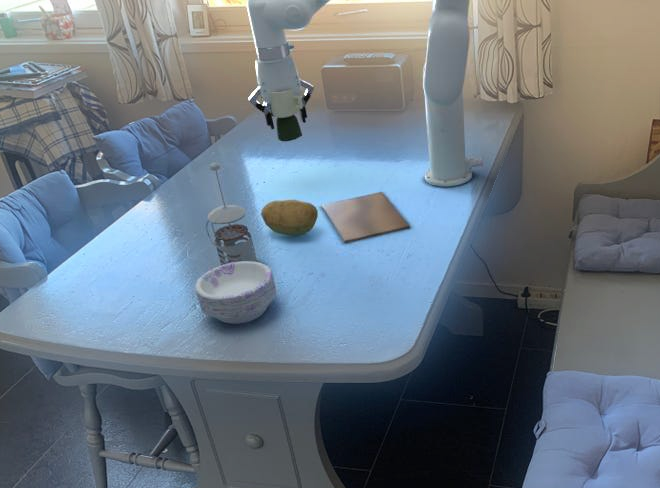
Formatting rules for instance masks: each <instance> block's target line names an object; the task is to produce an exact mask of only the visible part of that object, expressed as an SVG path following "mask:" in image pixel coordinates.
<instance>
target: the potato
mask: <svg viewBox="0 0 660 488" xmlns="http://www.w3.org/2000/svg"><path fill="white" fill-rule="evenodd" d="M260 216H261V217H262V219H263V222H264V224H265V226H266V227H268V228H269V229H270V230H271V231H272V232H274V233H275V234H279V235H283V236H301V235H306V234H307V233H309V232H310V231H311V230H312V229H313V228H314V227H315V225H316V222H317V219H318V217H319V211H318V209H317V207H316V206H315V205H314V204H312V203H311V202H307V201H301V200H297V199H283V200H273V201H270V202H268V203H266V204H265V205H264V207H262V209H261V212H260Z"/></svg>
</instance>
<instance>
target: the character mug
mask: <svg viewBox="0 0 660 488" xmlns="http://www.w3.org/2000/svg"><path fill="white" fill-rule="evenodd" d="M271 96H272V103H270V104H271V107H270V110H269V111H270V113H271V115H272V118H276V120H275V123H276V124H275V125H276V133H277V134H276V135H277V136H276V137H277V139H278V141H280V142H291V141H295V140H297V139H299V138H300V137H302V136H303V133H302V129H301V126H300V124H299V120H298V118H297V116H296V114H297V113H299V109H303V103H302V95H301V96H294V92H293V89H289V90H286V91H282V92H274V93H273V92H272V93H271ZM298 104H299V105H298Z"/></svg>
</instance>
